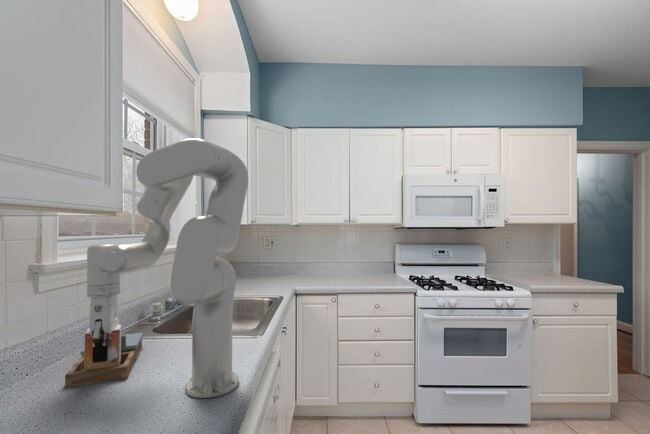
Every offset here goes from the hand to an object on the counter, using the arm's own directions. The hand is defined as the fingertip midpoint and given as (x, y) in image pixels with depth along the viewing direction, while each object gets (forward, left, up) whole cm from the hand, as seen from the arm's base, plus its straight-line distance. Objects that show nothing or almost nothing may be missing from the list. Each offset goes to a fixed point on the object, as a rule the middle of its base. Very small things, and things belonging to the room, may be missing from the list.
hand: (103, 355), depth 91 cm
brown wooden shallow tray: (+6, 0, -5) cm, 8 cm away
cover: (+13, 0, -1) cm, 13 cm away
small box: (0, 0, -3) cm, 3 cm away
